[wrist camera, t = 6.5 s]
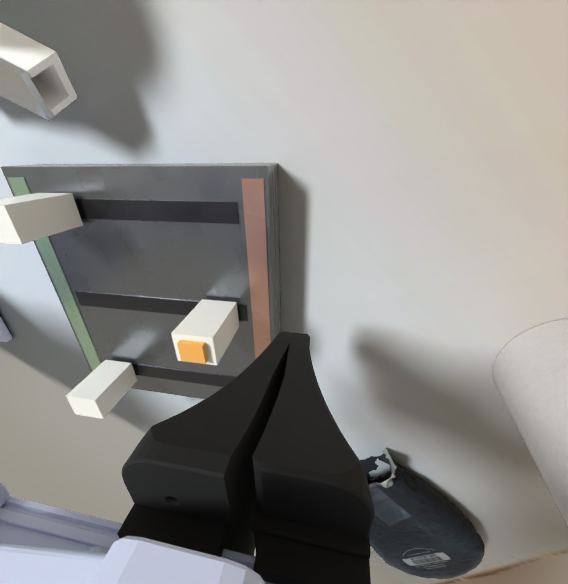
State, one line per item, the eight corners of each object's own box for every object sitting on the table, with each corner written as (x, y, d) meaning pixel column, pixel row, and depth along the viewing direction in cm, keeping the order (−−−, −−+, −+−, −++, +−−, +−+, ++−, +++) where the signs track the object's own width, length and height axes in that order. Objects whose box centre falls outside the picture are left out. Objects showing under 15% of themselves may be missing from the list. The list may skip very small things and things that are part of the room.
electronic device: (306, 461, 27) (406, 562, 28) (298, 521, 22) (422, 642, 23) (384, 415, 24) (494, 529, 25) (397, 471, 19) (534, 613, 20)
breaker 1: (51, 224, 15) (-16, 242, 12) (38, 192, 14) (-36, 204, 11) (83, 225, 15) (22, 244, 12) (71, 193, 14) (3, 205, 11)
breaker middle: (206, 323, 16) (174, 364, 13) (202, 299, 15) (167, 337, 12) (239, 326, 16) (214, 370, 13) (236, 302, 15) (209, 341, 12)
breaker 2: (112, 376, 20) (75, 414, 17) (105, 359, 19) (65, 395, 16) (137, 380, 20) (103, 419, 17) (131, 362, 19) (94, 400, 16)
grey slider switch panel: (115, 364, 23) (95, 383, 21) (38, 164, 16) (-1, 166, 14) (282, 387, 20) (276, 410, 19) (277, 163, 14) (267, 166, 12)
